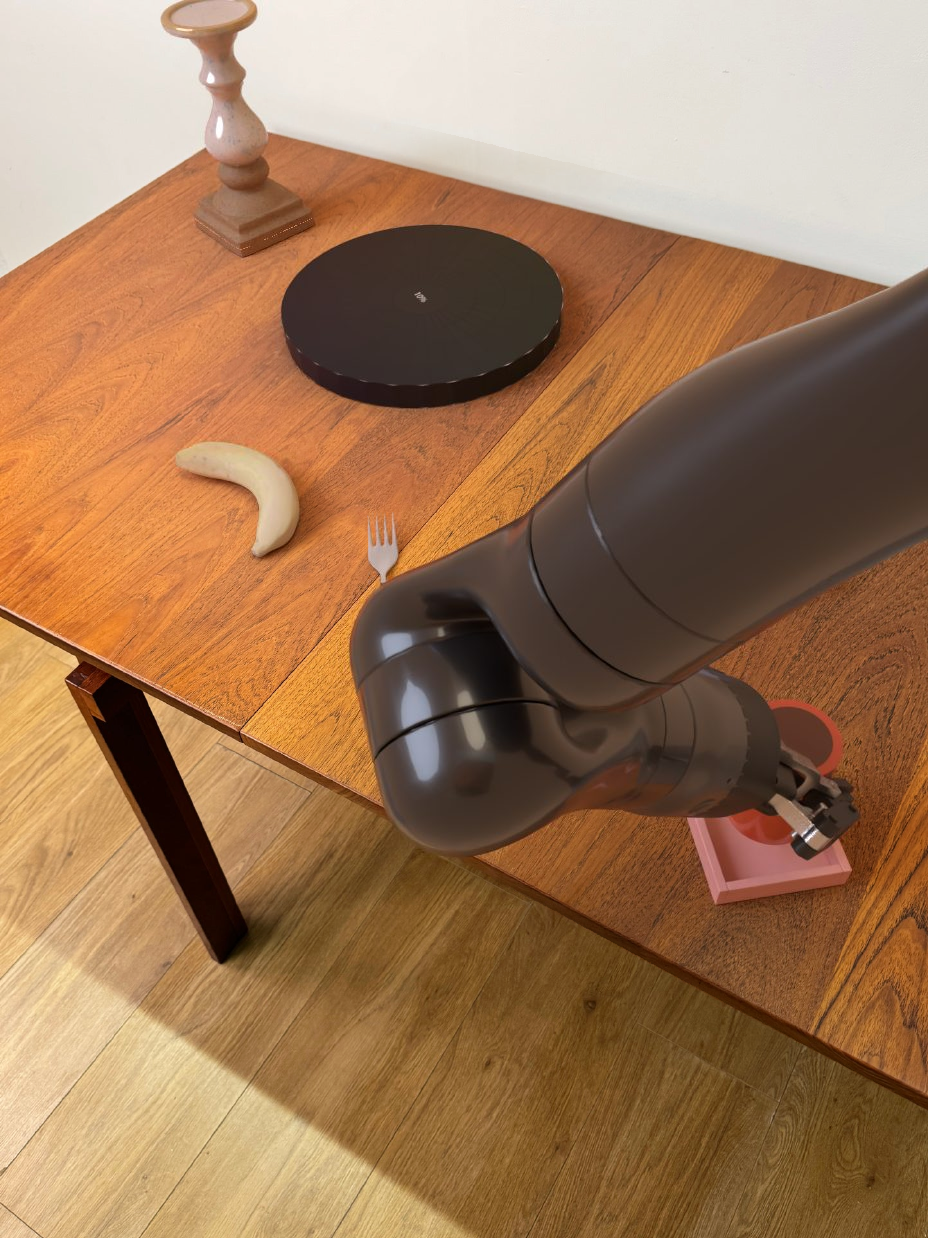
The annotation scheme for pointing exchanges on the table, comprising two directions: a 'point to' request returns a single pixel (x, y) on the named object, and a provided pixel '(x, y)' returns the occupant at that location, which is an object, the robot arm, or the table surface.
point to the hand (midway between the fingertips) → (802, 758)
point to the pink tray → (760, 864)
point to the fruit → (250, 486)
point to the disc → (422, 315)
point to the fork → (382, 550)
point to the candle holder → (234, 134)
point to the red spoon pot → (809, 738)
